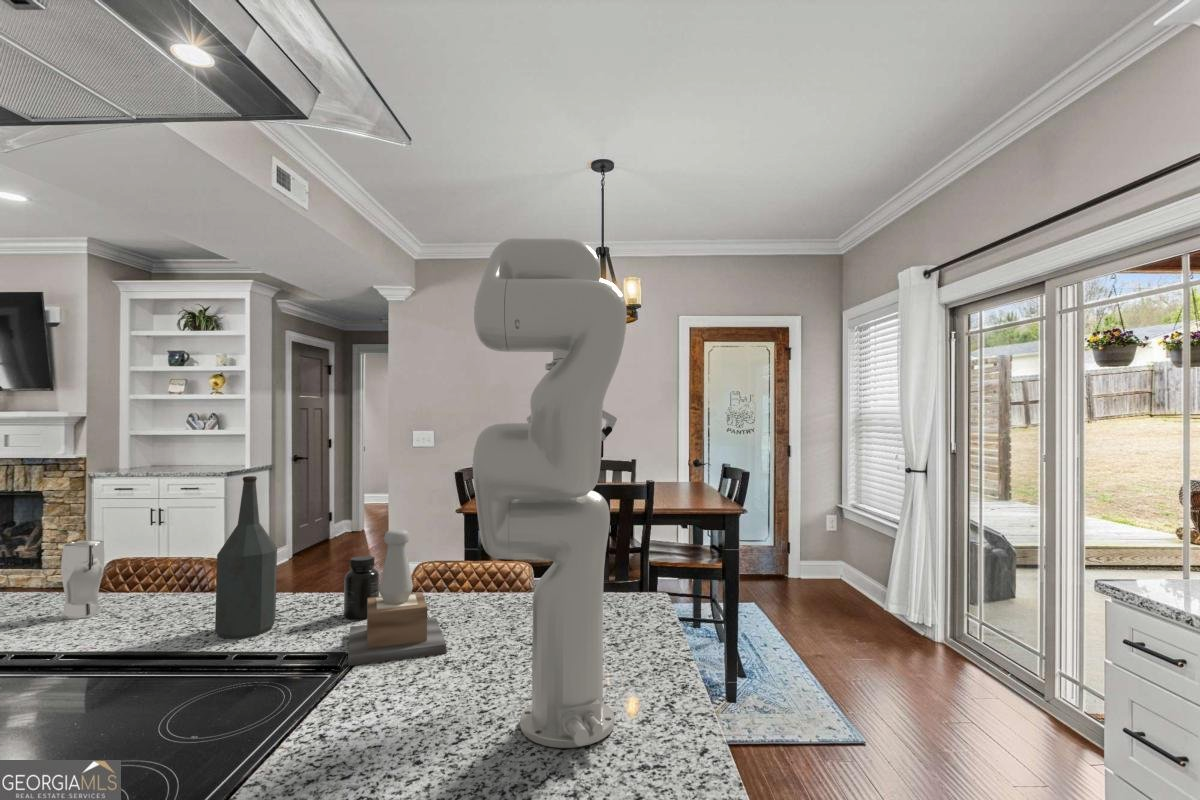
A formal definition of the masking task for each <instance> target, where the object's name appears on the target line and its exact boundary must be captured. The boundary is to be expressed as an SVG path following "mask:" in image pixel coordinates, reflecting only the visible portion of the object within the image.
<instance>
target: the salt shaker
mask: <svg viewBox="0 0 1200 800" xmlns="http://www.w3.org/2000/svg"><path fill="white" fill-rule="evenodd" d="M383 541H384V544H386V545H387V551H386V555H385V559H384V560H385V561H384V564H383V565H384V566H383V571H382V574H381V579H380V583H379V595H381V596H382V598H383V600H384V602H385V604H391V605H396V604H402V603H405V602H406V601H407V600H408V598H409V596H410V594H412V591H413V588H414V585H413V578H412V574H411V568H410V563H409V557H408V550H407V543H409V541H410V533H409V531H408V530H406V529H401V528H400V529H399V528H398V529H390V530H387V531H386V532H385V534H384V540H383ZM381 596H380V597H381Z"/></svg>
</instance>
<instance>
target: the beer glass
mask: <svg viewBox="0 0 1200 800" xmlns="http://www.w3.org/2000/svg"><path fill="white" fill-rule="evenodd" d="M104 568H105V546H104V540H100V539H99V540H97V539H95V540H93V539H92V540H82V541H81V540H80V541H74V542H73V541H72V542H69V543H67V542H66V543H65V544H63V547H62V553H61V562H60V573H61V575H60V576H61V580H62V585H63V586H62V587H63V591H64V607H63V610H62V614H61V618H62V619H63V620H79V619H84V618H85V619H86V618H90V617H93V616H96V615H98V614H100V612H101V608H100V604H99V591H100V586H101V583H102V578H103V574H104Z"/></svg>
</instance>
